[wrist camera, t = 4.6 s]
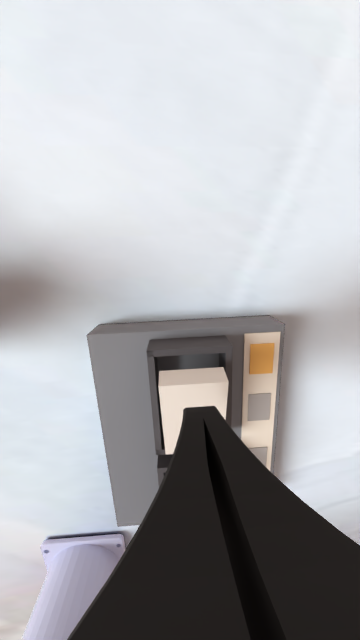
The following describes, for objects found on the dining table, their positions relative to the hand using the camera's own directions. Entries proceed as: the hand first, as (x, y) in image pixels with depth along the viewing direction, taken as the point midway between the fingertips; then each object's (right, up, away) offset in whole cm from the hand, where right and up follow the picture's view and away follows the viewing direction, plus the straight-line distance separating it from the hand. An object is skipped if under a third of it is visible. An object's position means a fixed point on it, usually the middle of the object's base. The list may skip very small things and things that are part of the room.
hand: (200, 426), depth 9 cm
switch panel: (0, -4, +10) cm, 10 cm away
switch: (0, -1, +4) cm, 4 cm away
